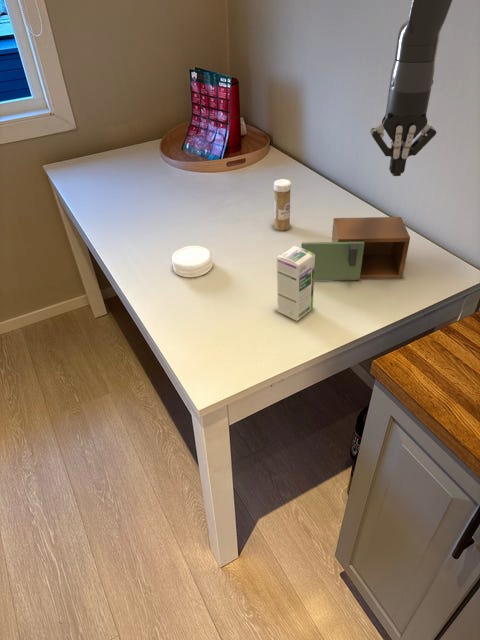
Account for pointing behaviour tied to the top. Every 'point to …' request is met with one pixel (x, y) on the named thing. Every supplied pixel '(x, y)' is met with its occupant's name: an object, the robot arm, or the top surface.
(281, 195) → the sprinkles bottle
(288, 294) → the syrup box
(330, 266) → the sliding door
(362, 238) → the cupboard
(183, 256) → the white short cylinder
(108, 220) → the top surface
